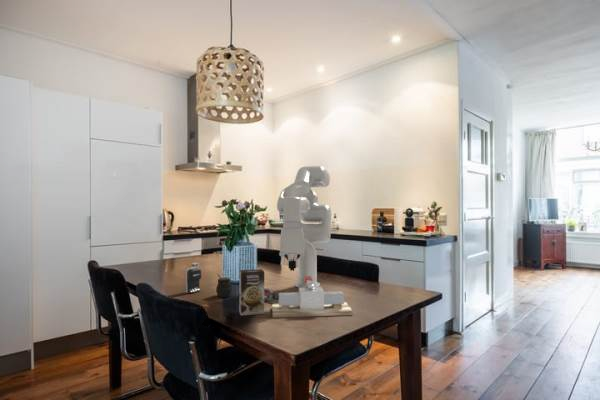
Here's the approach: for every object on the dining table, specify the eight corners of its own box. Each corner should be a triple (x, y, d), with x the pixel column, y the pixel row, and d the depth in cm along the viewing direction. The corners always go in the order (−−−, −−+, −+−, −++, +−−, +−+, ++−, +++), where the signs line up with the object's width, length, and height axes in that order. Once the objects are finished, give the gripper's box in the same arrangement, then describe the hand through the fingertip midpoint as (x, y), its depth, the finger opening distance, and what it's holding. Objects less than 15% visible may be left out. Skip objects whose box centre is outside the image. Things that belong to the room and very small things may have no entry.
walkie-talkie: (245, 297, 158) (276, 306, 145) (245, 287, 158) (276, 295, 145) (260, 293, 165) (290, 301, 151) (260, 284, 165) (290, 291, 151)
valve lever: (303, 280, 150) (303, 276, 150) (310, 280, 151) (310, 276, 151) (307, 289, 135) (307, 284, 135) (315, 289, 135) (315, 284, 135)
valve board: (272, 307, 141) (272, 300, 141) (345, 305, 143) (345, 298, 143) (272, 317, 129) (272, 309, 129) (352, 315, 131) (352, 306, 131)
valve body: (278, 305, 138) (278, 288, 138) (341, 304, 140) (341, 286, 141) (279, 311, 131) (279, 292, 131) (344, 309, 134) (344, 290, 134)
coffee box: (240, 316, 131) (240, 272, 131) (238, 311, 137) (238, 269, 137) (264, 313, 133) (264, 271, 133) (261, 309, 139) (261, 268, 140)
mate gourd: (227, 298, 155) (226, 276, 155) (212, 297, 157) (211, 275, 158) (235, 294, 162) (234, 272, 162) (221, 293, 164) (220, 272, 164)
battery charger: (190, 294, 162) (190, 269, 163) (185, 293, 165) (185, 269, 165) (202, 291, 168) (202, 267, 168) (197, 290, 170) (197, 266, 170)
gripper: (309, 225, 151) (309, 268, 150) (274, 225, 150) (274, 269, 149) (311, 226, 144) (311, 271, 143) (274, 226, 142) (274, 272, 142)
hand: (292, 270), depth 146 cm, fingers closed
